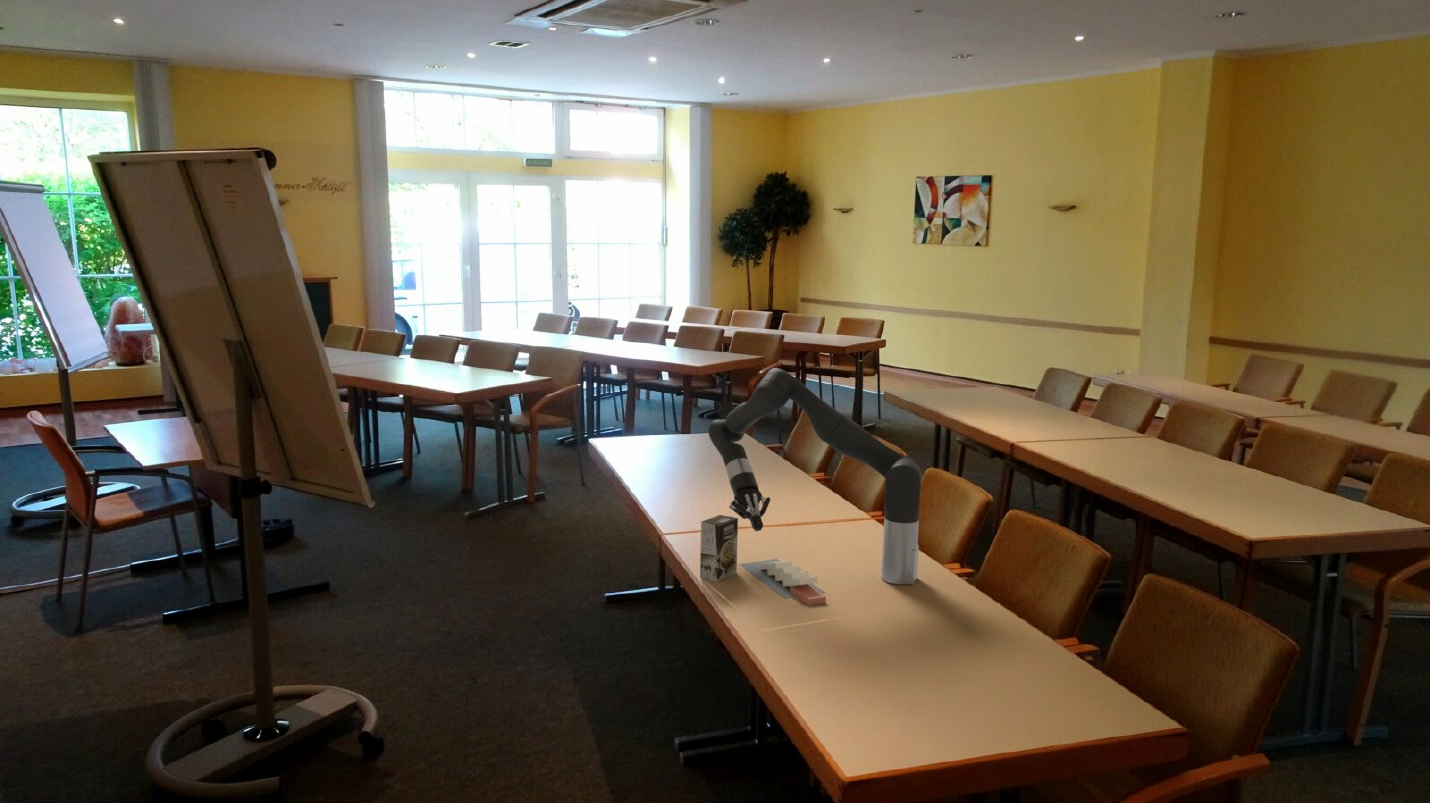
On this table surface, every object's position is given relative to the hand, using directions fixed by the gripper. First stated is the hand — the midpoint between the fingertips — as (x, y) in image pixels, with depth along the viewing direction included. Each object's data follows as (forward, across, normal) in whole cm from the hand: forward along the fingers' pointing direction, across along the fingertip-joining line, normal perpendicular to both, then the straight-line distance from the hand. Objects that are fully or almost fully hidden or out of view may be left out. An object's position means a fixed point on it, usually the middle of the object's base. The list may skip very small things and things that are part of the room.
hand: (758, 529), depth 272 cm
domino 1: (+10, 0, -2) cm, 10 cm away
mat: (+17, 0, +3) cm, 17 cm away
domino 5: (+23, 0, +11) cm, 26 cm away
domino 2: (+14, 0, +1) cm, 14 cm away
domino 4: (+20, 0, +8) cm, 22 cm away
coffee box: (+11, +15, -3) cm, 19 cm away
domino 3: (+17, 0, +5) cm, 18 cm away
